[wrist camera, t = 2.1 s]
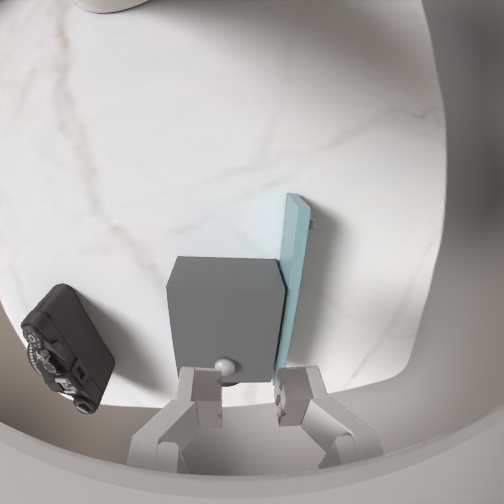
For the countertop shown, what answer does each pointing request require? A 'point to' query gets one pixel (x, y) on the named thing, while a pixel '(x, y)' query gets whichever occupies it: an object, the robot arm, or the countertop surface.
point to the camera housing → (226, 315)
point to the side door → (291, 269)
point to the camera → (68, 348)
